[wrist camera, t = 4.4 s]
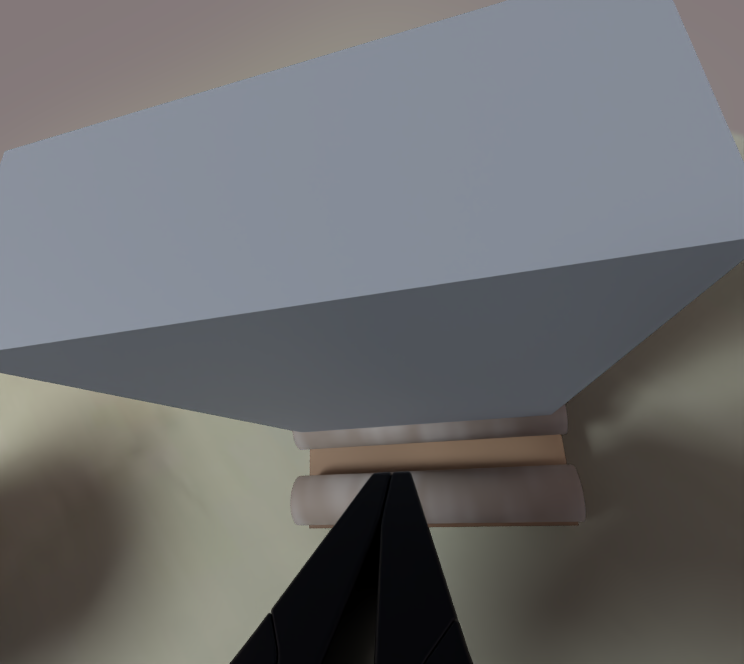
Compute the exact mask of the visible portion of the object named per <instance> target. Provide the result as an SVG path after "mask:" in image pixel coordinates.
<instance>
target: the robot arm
mask: <svg viewBox="0 0 744 664" xmlns="http://www.w3.org/2000/svg"><path fill="white" fill-rule="evenodd" d="M271 613H272V614H271ZM271 613H268V614H267V616H266V617H265V618H264V620H263V621H262V622H261V624H260V625H259V626H258V628H257V629H256V630H255V632H254V633H253V634H252V636H251V637H250V638H249V640H248V641H247V642H246V643H245V645H244V646H243V647H242V648H241V650H240V651H239V652H238V654H237V655H236V656H235V657H234V659H233V660H232V661H231V662H230V664H473V662H472V659H471V656H470V653H469V651H468V648H467V645H466V642H465V639H464V636H463V632H462V629H461V626H460V623H459V622H458V618H457V614H456V611H455V608H454V605H453V602H452V599H451V596H450V593H449V589H448V586H447V583H446V580H445V577H444V574H443V571H442V568H441V564H440V561H439V558H438V555H437V552H436V549H435V546H434V543H433V540H432V536H431V533H430V530H429V527H428V524H427V521H426V518H425V515H424V511H423V508H422V505H421V502H420V499H419V496H418V493H417V490H416V486H415V483H414V480H413V477H412V474H411V472H409V471H400V472H393V473H390V472H378V473H374V474H372V475H371V476H370V478H369V479H368V480H367V482H366V483H365V484H364V486H363V487H362V488H361V490H360V491H359V493H358V494H357V495H356V497H355V498H354V499H353V501H352V502H351V503H350V505H349V506H348V507H347V509H346V510H345V511H344V513H343V514H342V515H341V517H340V518H339V519H338V521H337V522H336V523H335V525H334V526H333V527H332V529H331V530H330V531H329V533H328V534H327V535H326V537H325V538H324V539H323V541H322V542H321V544H320V545H319V546H318V548H317V549H316V550H315V552H314V553H313V554H312V556H311V557H310V558H309V560H308V561H307V562H306V564H305V565H304V566H303V568H302V569H301V570H300V572H299V573H298V574H297V576H296V577H295V578H294V580H293V581H292V582H291V584H290V585H289V586H288V588H287V589H286V590H285V592H284V593H283V595H282V596H281V597H280V599H279V600H278V601H277V603H276V604H275V605H274V607H273V608H272V610H271Z"/></svg>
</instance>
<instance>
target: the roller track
mask: <svg viewBox="0 0 744 664" xmlns="http://www.w3.org/2000/svg"><path fill="white" fill-rule="evenodd" d="M567 430H568V419H567V411H566V405H565V404H564V405H563V406H562V407H560V408H559V409H558V410H557V411H555V412H554V413H553V414H552V415H542V416H528V417H514V418H500V419H485V420H471V421H457V422H443V423H428V424H414V425H400V426H386V427H372V428H357V429H343V430H329V431H315V432H297V431H293V438H294V441H295V444H296V446H297V447H298V448H299V449H300V450H307V449H310V476H299V477H298V478H297V479H296V480H295V482H294V485H293V488H292V492H291V501H290V506H291V514H292V518H293V520H294V522H295V523H296V524H297V525H309V528H332V527H333V526H334V525H335V523H336V522H337V521H338V519H339V518H340V517H341V515H342V514H343V513H344V511H345V510H346V509H347V507H348V506H349V505H350V503H351V502H352V501H353V499H354V498H355V497H356V495H357V494H358V493H359V491H360V490H361V488H362V487H363V486H364V484H365V483H366V482H367V480H368V479H369V478H370V476H371V475H372V474H374V473H378V472H390V473H393V472H400V471H409V472H411V474H412V477H413V480H414V483H415V486H416V490H417V493H418V496H419V499H420V502H421V505H422V508H423V511H424V515H425V518H426V521H427V524H428V527H479V526H572V525H579V524H578V522H584V521H585V519H586V508H585V500H584V494H583V490H582V486H581V482H580V479H579V476H578V473H577V470H576V468H575V467H574V465H573V464H567V462H566V457H565V452H564V447H563V441H562V436H561V434H567Z"/></svg>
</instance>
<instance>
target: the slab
mask: <svg viewBox="0 0 744 664" xmlns="http://www.w3.org/2000/svg"><path fill="white" fill-rule="evenodd" d="M742 260H744V162H743V160H742V157H741V155H740V153H739V150H738V148H737V146H736V144H735V141H734V139H733V137H732V134H731V132H730V130H729V128H728V125H727V123H726V121H725V118H724V116H723V114H722V112H721V109H720V107H719V105H718V102H717V100H716V98H715V96H714V93H713V91H712V89H711V86H710V84H709V82H708V80H707V77H706V75H705V73H704V71H703V68H702V66H701V64H700V61H699V59H698V57H697V54H696V52H695V50H694V47H693V45H692V43H691V41H690V38H689V36H688V34H687V31H686V29H685V27H684V25H683V22H682V20H681V18H680V16H679V14H678V11H677V9H676V6H675V4H674V2H673V0H507V1H504V2H501V3H497V4H494V5H491V6H488V7H485V8H481V9H478V10H474V11H471V12H468V13H464V14H461V15H457V16H454V17H451V18H447V19H444V20H441V21H437V22H434V23H431V24H428V25H424V26H421V27H417V28H415V29H411V30H407V31H404V32H401V33H398V34H394V35H391V36H388V37H384V38H381V39H377V40H374V41H371V42H367V43H364V44H361V45H358V46H354V47H351V48H347V49H345V50H341V51H338V52H334V53H331V54H327V55H324V56H321V57H318V58H314V59H311V60H307V61H304V62H301V63H297V64H294V65H291V66H288V67H285V68H281V69H277V70H274V71H271V72H268V73H264V74H261V75H258V76H254V77H251V78H248V79H244V80H241V81H237V82H235V83H231V84H227V85H224V86H221V87H218V88H214V89H211V90H207V91H204V92H201V93H198V94H194V95H191V96H188V97H184V98H181V99H177V100H174V101H171V102H167V103H164V104H161V105H158V106H154V107H151V108H147V109H144V110H141V111H137V112H134V113H131V114H127V115H124V116H121V117H117V118H114V119H111V120H108V121H104V122H101V123H97V124H94V125H91V126H87V127H84V128H81V129H78V130H74V131H71V132H68V133H64V134H61V135H57V136H54V137H51V138H47V139H44V140H41V141H37V142H34V143H31V144H28V145H24V146H21V147H18V148H14V149H11V150H7V151H5V152H4V155H3V158H2V161H1V164H0V373H4V374H9V375H14V376H19V377H24V378H29V379H35V380H40V381H45V382H50V383H55V384H60V385H65V386H70V387H75V388H80V389H85V390H90V391H95V392H100V393H105V394H110V395H115V396H120V397H125V398H130V399H135V400H141V401H146V402H151V403H156V404H161V405H166V406H171V407H176V408H181V409H186V410H191V411H196V412H201V413H206V414H211V415H216V416H221V417H226V418H231V419H236V420H241V421H247V422H252V423H257V424H262V425H267V426H272V427H277V428H282V429H287V430H292V431H297V432H315V431H329V430H343V429H357V428H372V427H386V426H400V425H414V424H428V423H443V422H457V421H471V420H485V419H500V418H514V417H528V416H542V415H552V414H553V413H554V412H555V411H557V410H558V409H559V408H560V407H562V406H563V405H564V404H565V403H566V402H568V401H569V400H570V399H571V398H573V397H574V396H575V395H576V394H578V393H579V392H580V391H581V390H583V389H584V388H585V387H586V386H588V385H589V384H590V383H591V382H592V381H594V380H595V379H596V378H597V377H599V376H600V375H601V374H602V373H604V372H605V371H606V370H607V369H609V368H610V367H611V366H612V365H614V364H615V363H616V362H617V361H619V360H620V359H621V358H622V357H623V356H625V355H626V354H627V353H628V352H630V351H631V350H632V349H633V348H635V347H636V346H637V345H638V344H640V343H641V342H642V341H643V340H645V339H646V338H647V337H648V336H650V335H651V334H652V333H653V332H654V331H656V330H657V329H658V328H659V327H661V326H662V325H663V324H664V323H666V322H667V321H668V320H669V319H671V318H672V317H673V316H674V315H676V314H677V313H678V312H679V311H681V310H682V309H683V308H684V307H685V306H687V305H688V304H689V303H690V302H692V301H693V300H694V299H695V298H697V297H698V296H699V295H700V294H702V293H703V292H704V291H705V290H707V289H708V288H709V287H710V286H711V285H713V284H714V283H715V282H716V281H718V280H719V279H720V278H721V277H723V276H724V275H725V274H726V273H728V272H729V271H730V270H731V269H733V268H734V267H735V266H736V265H738V264H739V263H740V262H741V261H742Z"/></svg>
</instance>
